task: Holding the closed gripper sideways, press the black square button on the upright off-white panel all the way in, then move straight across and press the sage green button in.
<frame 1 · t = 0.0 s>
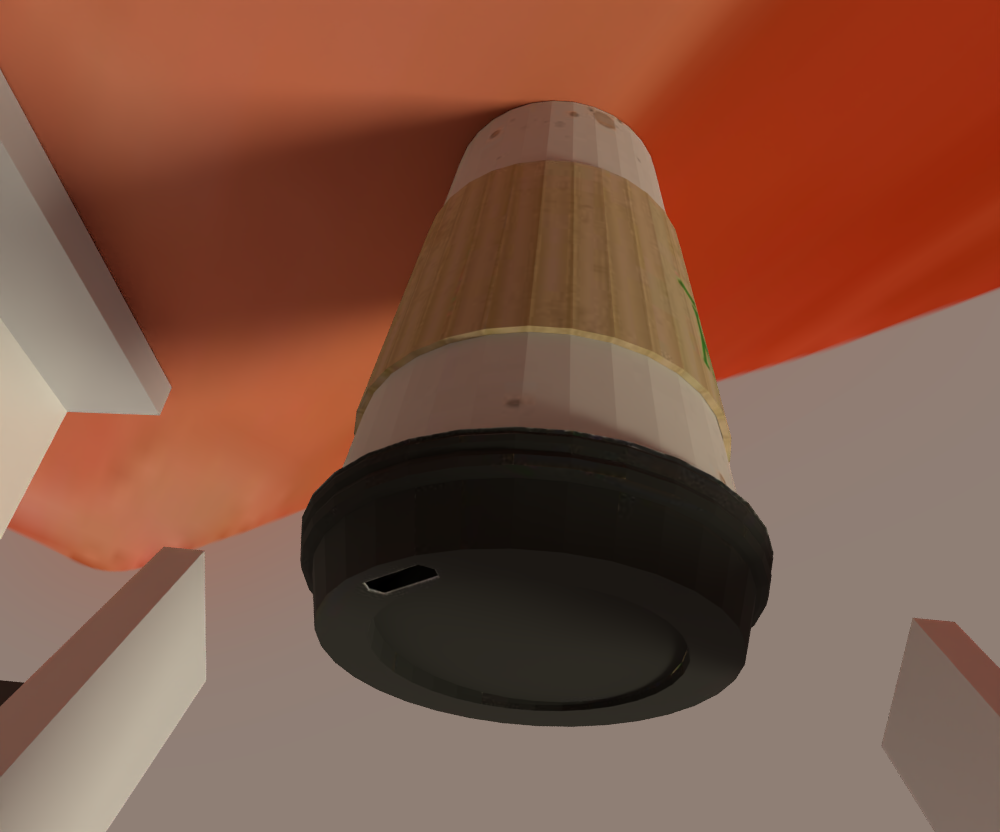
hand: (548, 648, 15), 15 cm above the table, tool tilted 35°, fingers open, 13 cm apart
coffee cup: (556, 188, 26), on the table
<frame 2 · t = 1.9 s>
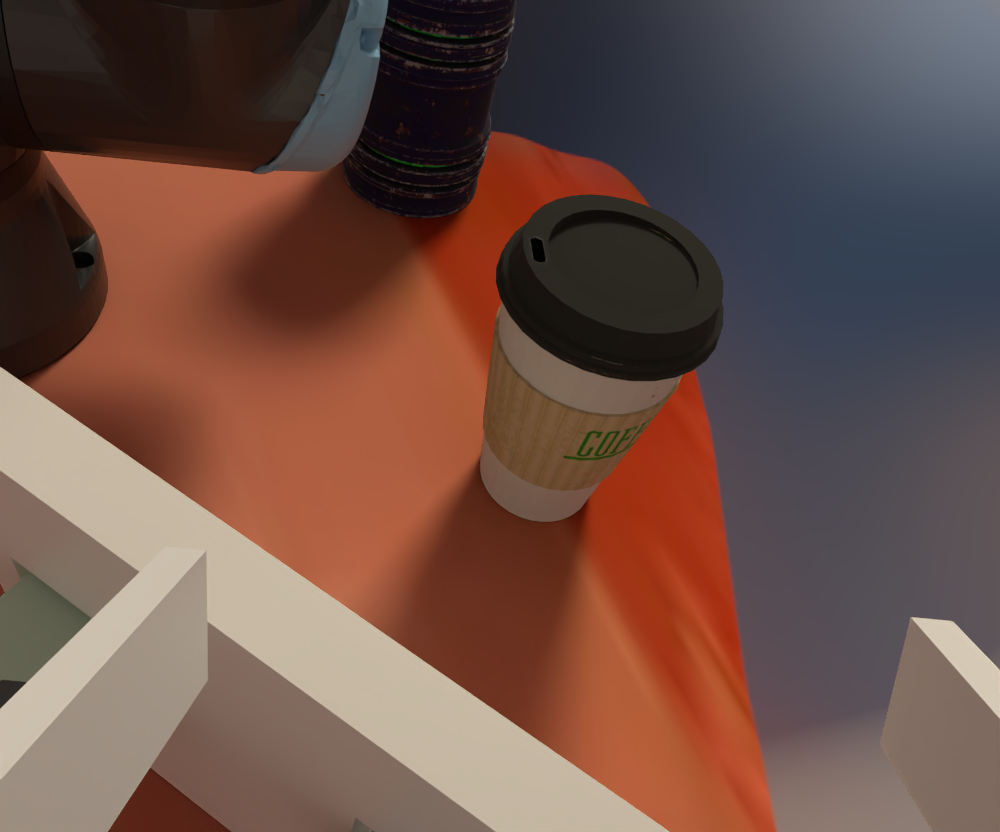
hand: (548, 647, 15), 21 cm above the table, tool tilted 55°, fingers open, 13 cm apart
coffee cup: (535, 475, 45), on the table
sage button: (62, 671, 24), point 10 cm above the table, slide at 0.0 cm
button panel: (272, 825, 31), on the table
storage jar: (409, 178, 60), on the table
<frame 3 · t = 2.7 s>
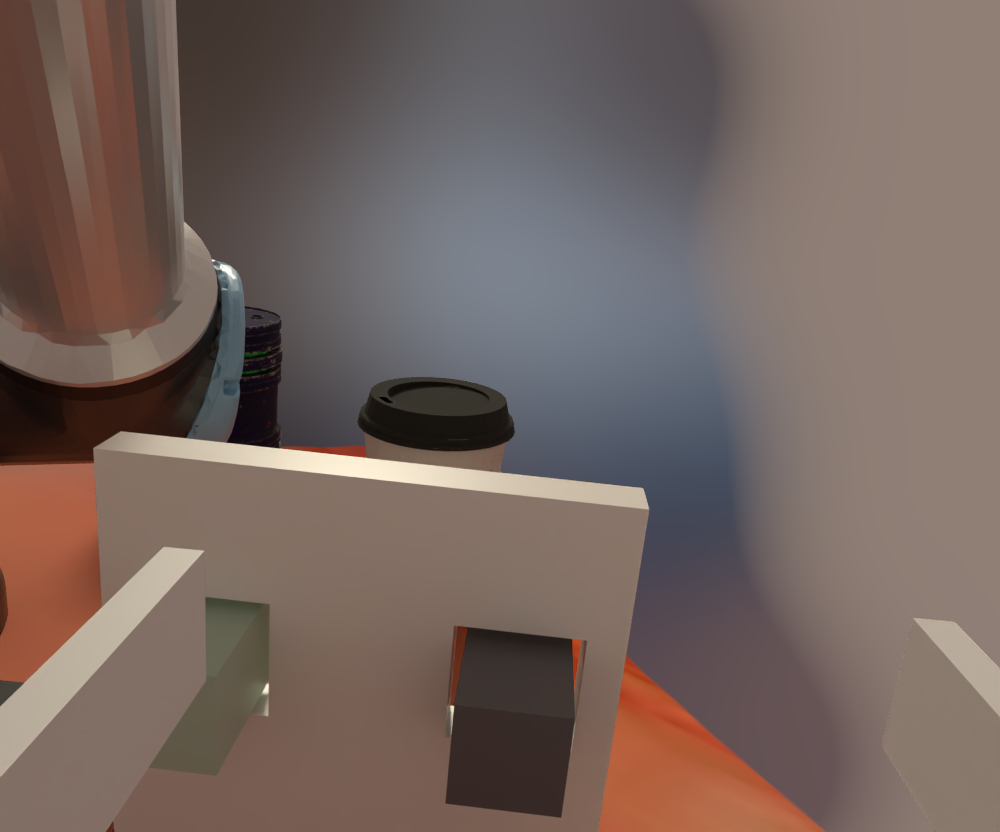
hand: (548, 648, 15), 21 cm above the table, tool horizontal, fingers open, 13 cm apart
coffee cup: (422, 610, 56), on the table
sage button: (194, 669, 31), point 10 cm above the table, slide at 0.0 cm
black button: (512, 706, 31), point 10 cm above the table, slide at 0.0 cm
storage jar: (222, 485, 73), on the table
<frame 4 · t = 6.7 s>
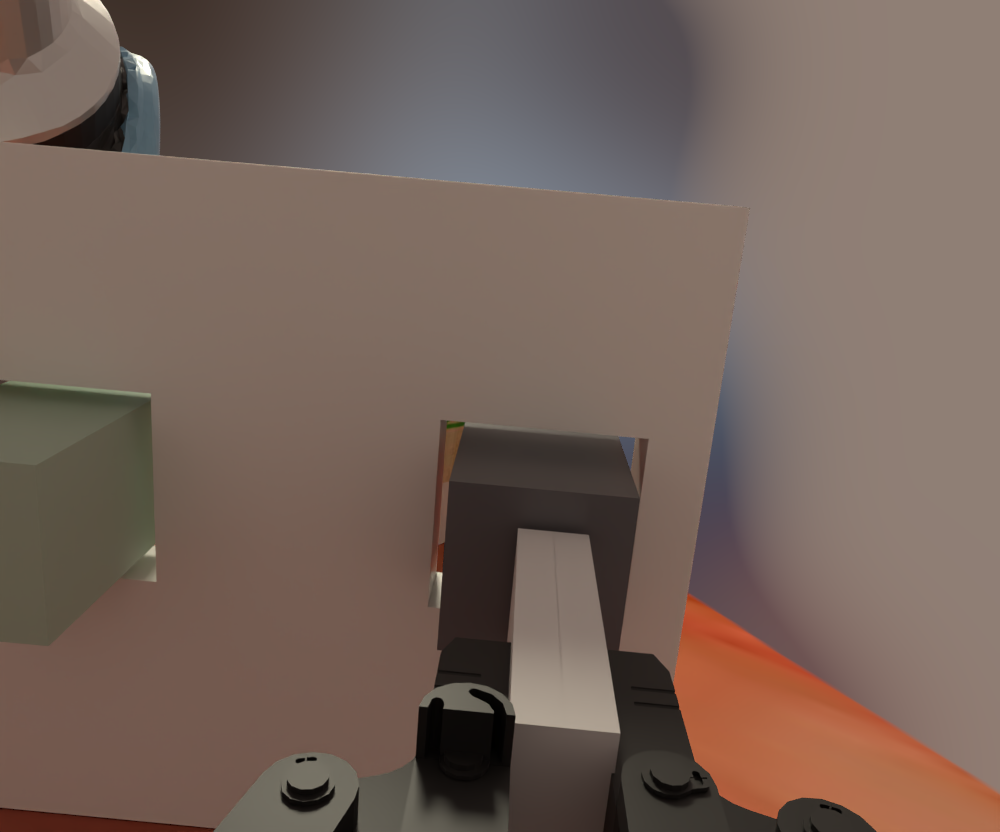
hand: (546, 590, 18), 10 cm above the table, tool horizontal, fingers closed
coffee cup: (400, 528, 45), on the table
sage button: (30, 496, 20), point 10 cm above the table, slide at 0.0 cm
black button: (534, 522, 21), point 10 cm above the table, slide at 1.2 cm, touching gripper
button panel: (297, 809, 24), on the table
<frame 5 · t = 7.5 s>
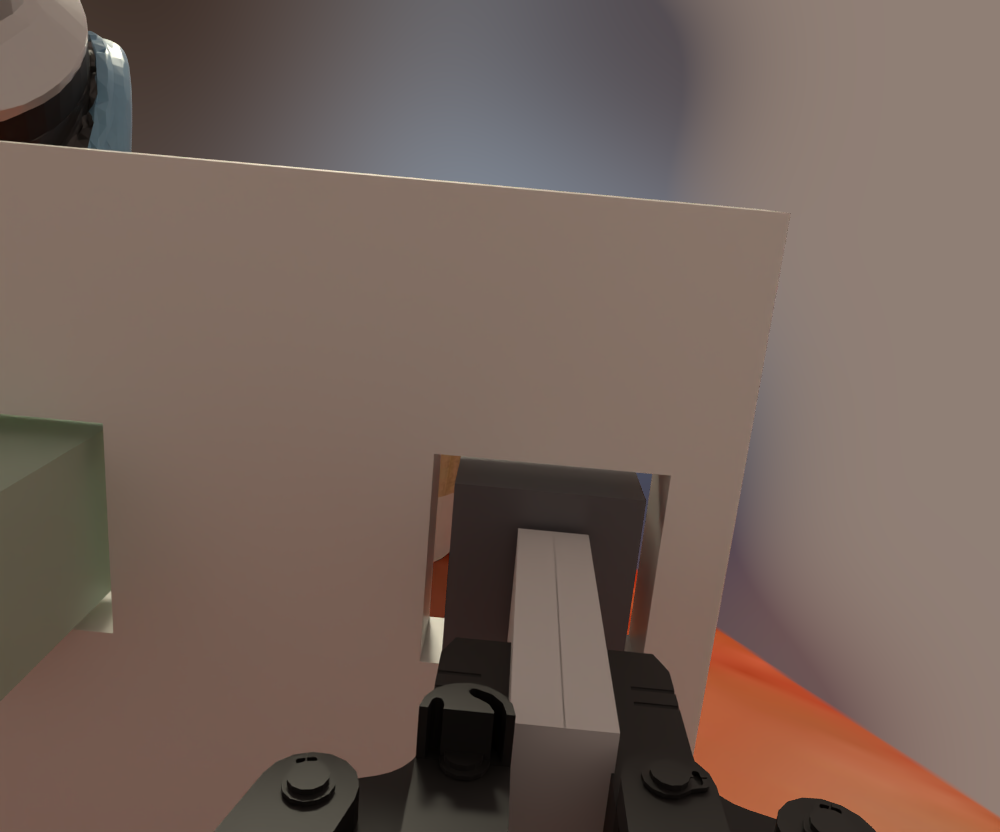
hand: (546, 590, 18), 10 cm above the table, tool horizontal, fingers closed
coffee cup: (392, 543, 42), on the table
black button: (538, 522, 21), point 10 cm above the table, slide at 3.7 cm, touching gripper
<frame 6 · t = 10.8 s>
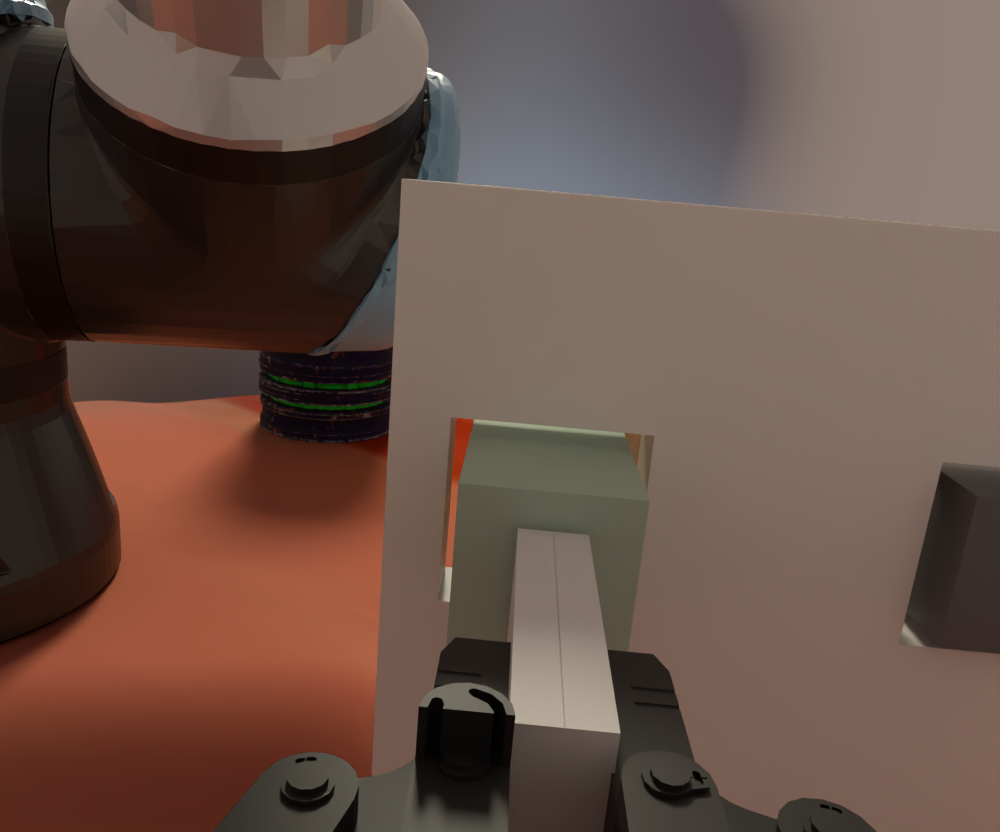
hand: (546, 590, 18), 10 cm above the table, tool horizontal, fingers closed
sage button: (542, 524, 21), point 10 cm above the table, slide at 0.8 cm, touching gripper
black button: (976, 531, 23), point 10 cm above the table, slide at 3.1 cm
storage jar: (327, 425, 62), on the table
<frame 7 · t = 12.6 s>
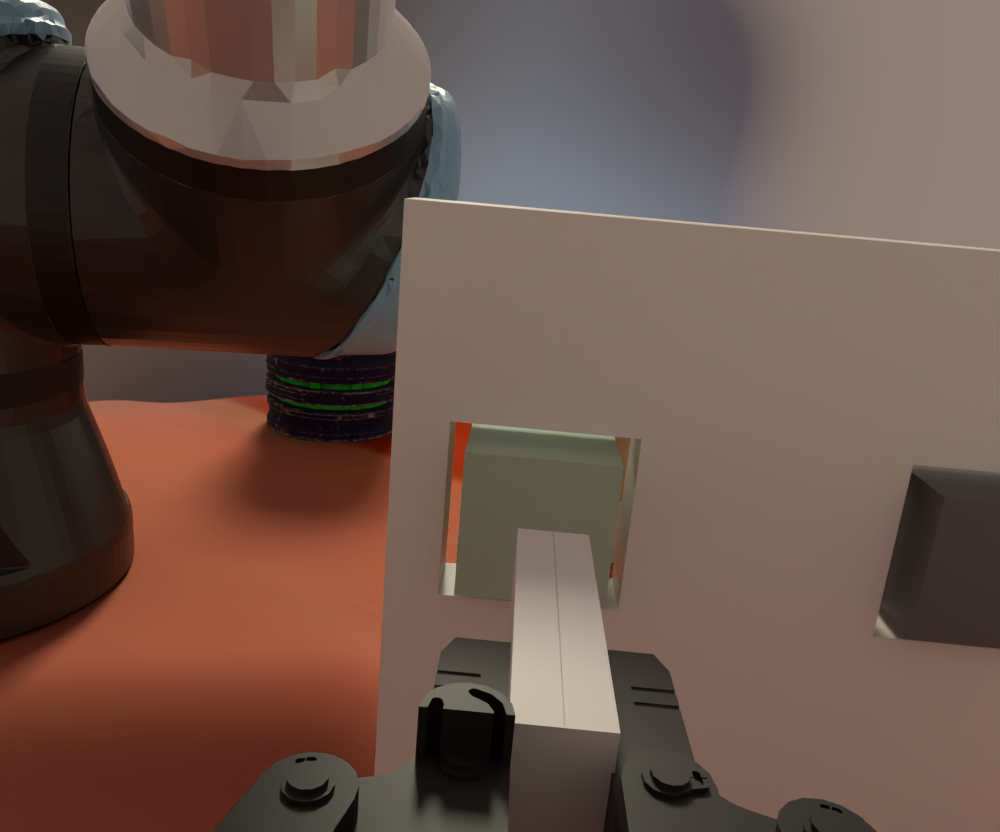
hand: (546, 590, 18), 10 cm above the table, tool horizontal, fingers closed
coffee cup: (623, 544, 46), on the table
sage button: (536, 491, 24), point 10 cm above the table, slide at 3.1 cm
black button: (949, 530, 24), point 10 cm above the table, slide at 3.1 cm
button panel: (697, 822, 26), on the table
storage jar: (332, 425, 63), on the table
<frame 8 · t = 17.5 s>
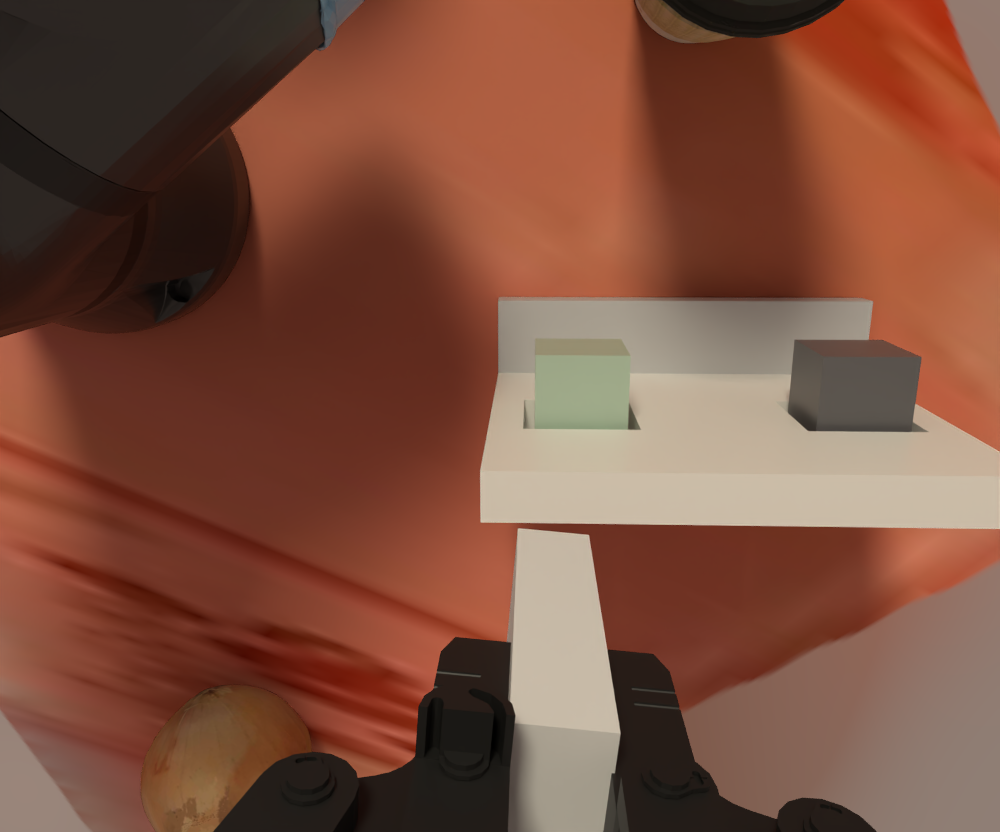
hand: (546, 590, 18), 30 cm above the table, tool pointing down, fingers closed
sage button: (578, 411, 38), point 10 cm above the table, slide at 3.1 cm
black button: (847, 413, 37), point 10 cm above the table, slide at 3.1 cm
button panel: (674, 385, 47), on the table
onion: (256, 718, 55), on the table
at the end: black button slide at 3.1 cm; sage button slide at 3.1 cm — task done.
